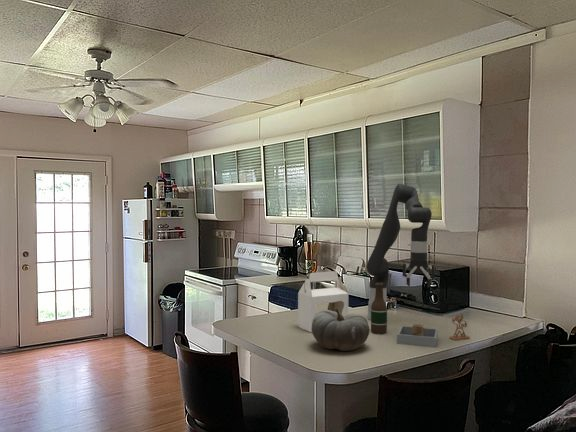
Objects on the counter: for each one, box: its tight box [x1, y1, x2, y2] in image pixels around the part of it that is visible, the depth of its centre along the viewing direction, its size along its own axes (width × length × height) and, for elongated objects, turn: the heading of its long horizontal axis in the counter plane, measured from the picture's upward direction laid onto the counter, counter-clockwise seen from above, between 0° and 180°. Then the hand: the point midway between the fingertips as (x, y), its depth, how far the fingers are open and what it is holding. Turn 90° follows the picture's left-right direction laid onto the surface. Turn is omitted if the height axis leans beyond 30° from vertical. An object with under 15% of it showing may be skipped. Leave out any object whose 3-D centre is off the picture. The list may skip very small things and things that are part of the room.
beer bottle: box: [370, 283, 388, 335], centre depth 239 cm, size 8×8×24 cm
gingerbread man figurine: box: [448, 312, 471, 341], centre depth 229 cm, size 9×4×12 cm, turn 112°
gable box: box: [297, 270, 349, 334], centre depth 248 cm, size 22×13×28 cm, turn 118°
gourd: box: [311, 308, 371, 352], centre depth 215 cm, size 25×25×17 cm
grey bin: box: [396, 325, 439, 348], centre depth 225 cm, size 17×17×4 cm
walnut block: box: [411, 323, 424, 336], centre depth 225 cm, size 4×4×7 cm
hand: (418, 286), depth 225 cm, fingers open, 8 cm apart
